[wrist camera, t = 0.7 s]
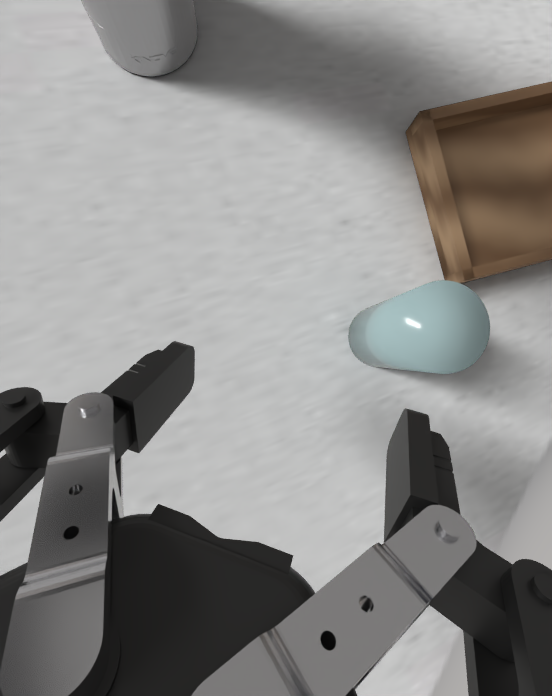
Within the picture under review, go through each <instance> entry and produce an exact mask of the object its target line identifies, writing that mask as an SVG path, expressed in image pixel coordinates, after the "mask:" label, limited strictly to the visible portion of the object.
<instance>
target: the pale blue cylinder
mask: <svg viewBox="0 0 552 696" xmlns="http://www.w3.org/2000/svg"><path fill="white" fill-rule="evenodd" d="M489 334H490V321H489V316H488V313H487V310H486V308H485V306H484V304H483V302H482V301H481V299H480V298H479V297H478V295H477V294H476V293H475V292H473V291H472V290H471V289H470V288H468V287H467V286H465V285H463V284H460V283H458V282H454V281H447V280H441V281H434V282H431V283H428V284H425V285H423V286H420V287H418V288H415V289H413V290H410V291H408V292H406V293H403V294H401V295H398V296H396V297H393V298H391V299H388V300H386V301H384V302H381V303H379V304H376V305H374V306H371V307H369V308H367V309H365V310H363V311H361V312H360V313H359V314H358V315H357V316H356V317H355V318H354V319H353V321H352V323H351V325H350V328H349V335H348V338H349V345H350V348H351V350H352V352H353V353H354V355H355V356H356V357H357V358H358V359H359V360H360V361H361V362H363V363H365V364H366V365H369V366H373V367H381V368H390V369H400V370H410V371H419V372H429V373H439V374H452V373H456V372H459V371H462V370H464V369H466V368H468V367H470V366H471V365H472V364H474V363H475V362H476V361H477V360H478V359H479V357H480V356H481V355H482V353H483V352H484V350H485V348H486V346H487V343H488V340H489Z"/></svg>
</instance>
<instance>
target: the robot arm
mask: <svg viewBox="0 0 552 696" xmlns="http://www.w3.org/2000/svg"><path fill="white" fill-rule="evenodd" d="M81 1H82V3H83V5H84V7H85V10H86V12H87V14H88V16H89V18H90V20H91V22H92V24H93V26H94V28H95V30H96V32H97V34H98V36H99V38H100V40H101V42H102V44H103V46H104V48H105V50H106V52H107V53H108V54H109V56H110V57H111V58H112V59H113V61H115V62H116V63H117V64H118V65H119V66H120V67H122V68H124V69H126V70H127V71H129V72H131V73H135V74H138V75H142V76H160V75H164V74H167V73H170V72H172V71H174V70H176V69H177V68H179V67H180V66H181V65H182V64H184V63H185V62H186V61H187V59H188V58H189V57H190V55H191V54H192V52H193V50H194V47H195V45H196V40H197V34H198V32H197V21H196V15H195V9H194V4H193V0H81ZM194 363H195V351H194V347H193V346H190V345H186V344H183V343H179V342H176V341H174V342H172V343H171V344H170V345H168V346H167V347H166V348H165V349H164V350H163V351H161V350H156V351H154V352H152V353H149V354H147V355H145V356H144V357H143V358H141V359H140V360H139V361H138V362H137V363H136V365H135V364H134V365H133V366H132V367H131V368H130V369H129V371H126V372H125V373H124V374H122V375H121V376H120V377H119V378H118V379H117V380H115V381H114V382H113V383H112V384H111V385H109V386H108V387H107V388H106V389H105V390H103V391H102V392H101V393H96V392H94V393H86V394H82V395H80V396H77V397H75V398H74V399H72V400H71V401H70V402H68V403H55V402H43V399H42V396H41V393H40V392H39V391H38V390H36V389H34V388H28V387H21V388H14V389H10V390H7V391H4V392H2V393H0V452H1V451H2V450H3V449H5V451H6V454H5V455H4V456H3V457H1V458H0V521H1V520H2V519H3V518H4V517H5V516H6V515H7V514H8V513H9V512H10V511H11V510H12V509H13V508H14V507H15V506H16V505H17V504H18V503H19V502H20V501H21V500H22V499H23V498H24V497H25V496H26V495H27V494H28V493H29V492H30V490H31V489H32V488H33V487H34V486H35V485H36V484H37V483H38V482H39V481H40V480H41V479H42V478H43V477H44V476H45V477H44V482H43V487H42V492H41V497H40V502H39V508H38V513H37V518H36V523H35V528H34V533H33V539H32V544H31V549H30V554H29V559H28V562H27V563H25V564H23V565H21V566H19V567H17V568H15V569H13V570H11V571H9V572H7V573H5V574H3V575H1V576H0V696H357V694H356V691H355V689H356V688H357V687H358V686H359V685H360V683H361V682H362V681H363V680H364V679H365V678H366V677H367V676H368V674H369V673H370V672H371V671H372V670H373V669H374V668H375V666H376V665H377V664H378V663H379V662H380V661H381V659H382V658H383V657H384V656H385V655H386V654H387V652H388V651H389V650H390V649H391V648H392V647H393V646H394V644H395V643H396V642H397V641H398V640H399V639H400V638H401V637H402V635H403V634H404V633H405V632H406V631H407V630H408V629H409V627H410V626H411V625H412V624H413V623H414V622H415V621H416V620H417V618H418V617H419V616H420V615H421V614H422V613H423V612H424V610H425V609H426V608H427V607H428V606H429V605H430V606H432V607H433V608H434V609H436V610H437V611H438V612H440V613H441V614H442V615H444V616H445V617H446V618H448V619H449V620H450V621H452V622H453V623H454V624H456V625H457V626H458V627H460V628H461V629H462V630H463V632H464V644H465V656H466V669H467V681H468V692H469V696H552V570H550V569H549V568H548V567H546V566H544V565H543V564H541V563H538V562H536V561H533V560H529V559H521V560H518V561H516V562H515V563H514V564H511V563H509V562H508V561H506V560H505V559H503V558H501V557H500V556H498V555H497V554H495V553H494V552H492V551H490V550H489V549H487V548H486V547H484V546H483V545H482V544H481V543H479V542H478V541H477V540H476V537H475V534H474V532H473V530H472V528H471V526H470V525H469V523H468V522H467V521H466V520H465V519H464V518H463V517H462V516H461V515H460V509H459V503H458V498H457V492H456V486H455V480H454V474H453V473H452V472H453V468H452V463H451V457H450V451H449V447H448V445H447V443H446V442H445V440H444V439H443V437H442V436H441V434H439V433H435V432H432V431H430V424H429V416H428V415H427V414H423V413H420V412H416V411H413V410H410V409H404V411H403V413H402V415H401V417H400V419H399V421H398V424H397V426H396V428H395V430H394V433H393V435H392V437H391V440H390V443H389V446H388V451H387V465H386V496H385V526H384V542H385V543H384V544H382V545H381V544H380V543H377V544H375V545H373V546H372V547H371V548H369V549H368V550H367V551H366V552H365V553H363V554H362V555H361V556H360V557H359V558H357V559H356V560H355V561H354V562H353V563H351V564H350V565H349V566H348V567H347V568H345V569H344V570H343V571H342V572H341V573H339V574H338V575H337V576H336V577H335V578H333V579H332V580H331V581H330V582H329V583H327V584H326V585H325V586H324V587H323V588H321V589H320V590H319V591H318V592H317V593H315V592H314V590H313V589H312V587H311V586H310V585H309V584H308V583H307V581H306V580H305V579H304V578H303V577H302V576H301V575H300V574H299V573H298V572H296V571H295V570H294V569H292V568H291V567H290V566H291V562H292V558H293V555H290V554H288V553H285V552H282V551H280V550H277V549H275V548H272V547H269V546H267V545H264V544H262V543H259V542H251V541H242V540H232V539H223V538H219V537H217V536H215V535H214V534H213V533H211V532H210V531H209V530H208V529H206V528H205V527H204V526H202V525H201V524H200V523H198V522H197V521H196V520H194V519H193V518H192V517H190V516H188V515H186V514H183V513H181V512H178V511H175V510H173V509H170V508H167V507H165V506H162V505H160V504H158V505H157V506H156V508H155V510H154V511H153V513H152V514H136V515H130V516H126V517H124V513H123V472H122V455H123V454H124V453H125V452H126V450H127V449H129V450H131V451H134V452H137V453H140V452H141V450H142V449H143V448H144V447H145V446H146V444H147V443H148V442H149V441H150V439H151V438H152V437H153V436H154V435H155V433H156V432H157V431H158V430H159V429H160V427H161V426H162V425H163V424H164V423H165V421H166V420H167V419H168V418H169V417H170V415H171V414H172V413H173V412H174V411H175V409H176V408H177V407H178V406H179V405H180V403H181V402H182V401H183V400H184V399H185V397H186V396H187V395H188V394H189V392H190V391H191V389H192V386H193V383H194Z"/></svg>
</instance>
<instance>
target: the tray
mask: <svg viewBox="0 0 552 696" xmlns="http://www.w3.org/2000/svg"><path fill="white" fill-rule="evenodd" d="M406 136H407V140H408V143H409V147H410V151H411V155H412V158H413V162H414V166H415V170H416V174H417V177H418V181H419V185H420V189H421V192H422V196H423V200H424V204H425V207H426V211H427V215H428V219H429V222H430V226H431V230H432V234H433V237H434V241H435V245H436V249H437V252H438V256H439V260H440V264H441V268H442V271H443V275H444V279H445V280H447V281H454V282H458V283H460V284H461V283H465V282H468V281H472V280H476V279H480V278H484V277H488V276H491V275H495V274H499V273H503V272H507V271H510V270H514V269H518V268H522V267H526V266H530V265H533V264H537V263H541V262H545V261H549V260H552V82H548V83H543V84H539V85H534V86H530V87H525V88H521V89H517V90H512V91H508V92H503V93H499V94H494V95H490V96H486V97H481V98H477V99H472V100H468V101H463V102H459V103H455V104H450V105H446V106H441V107H437V108H432V109H428V110H424V111H420V112H419V113H418V115H417V116H416V118H415V119H414V121H413V122H412V123H411V125H410V126H409V128H408V129H407V131H406Z"/></svg>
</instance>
